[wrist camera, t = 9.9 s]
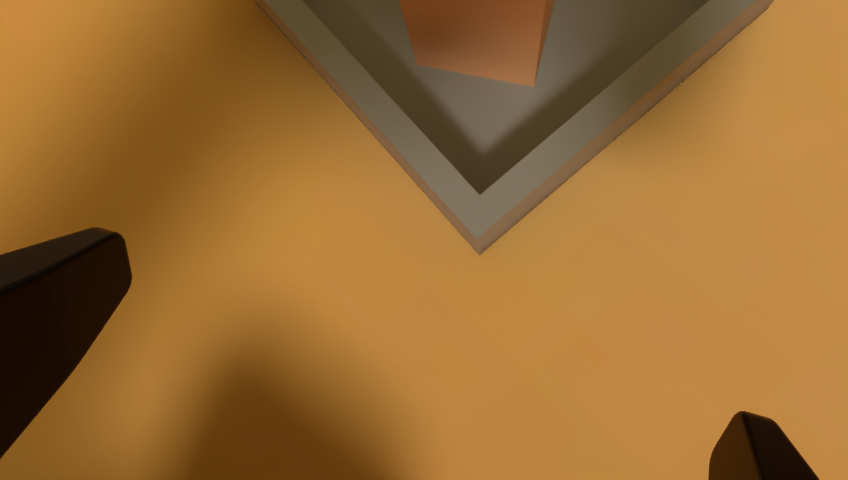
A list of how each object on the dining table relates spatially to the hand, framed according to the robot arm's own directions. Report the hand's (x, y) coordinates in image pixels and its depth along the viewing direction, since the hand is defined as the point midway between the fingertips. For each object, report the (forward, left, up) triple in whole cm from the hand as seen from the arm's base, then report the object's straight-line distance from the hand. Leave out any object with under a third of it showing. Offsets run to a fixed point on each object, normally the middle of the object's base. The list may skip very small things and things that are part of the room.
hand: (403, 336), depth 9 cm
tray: (+10, +9, -14) cm, 19 cm away
